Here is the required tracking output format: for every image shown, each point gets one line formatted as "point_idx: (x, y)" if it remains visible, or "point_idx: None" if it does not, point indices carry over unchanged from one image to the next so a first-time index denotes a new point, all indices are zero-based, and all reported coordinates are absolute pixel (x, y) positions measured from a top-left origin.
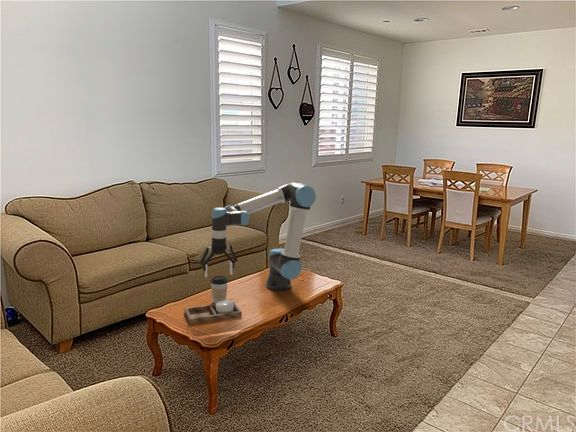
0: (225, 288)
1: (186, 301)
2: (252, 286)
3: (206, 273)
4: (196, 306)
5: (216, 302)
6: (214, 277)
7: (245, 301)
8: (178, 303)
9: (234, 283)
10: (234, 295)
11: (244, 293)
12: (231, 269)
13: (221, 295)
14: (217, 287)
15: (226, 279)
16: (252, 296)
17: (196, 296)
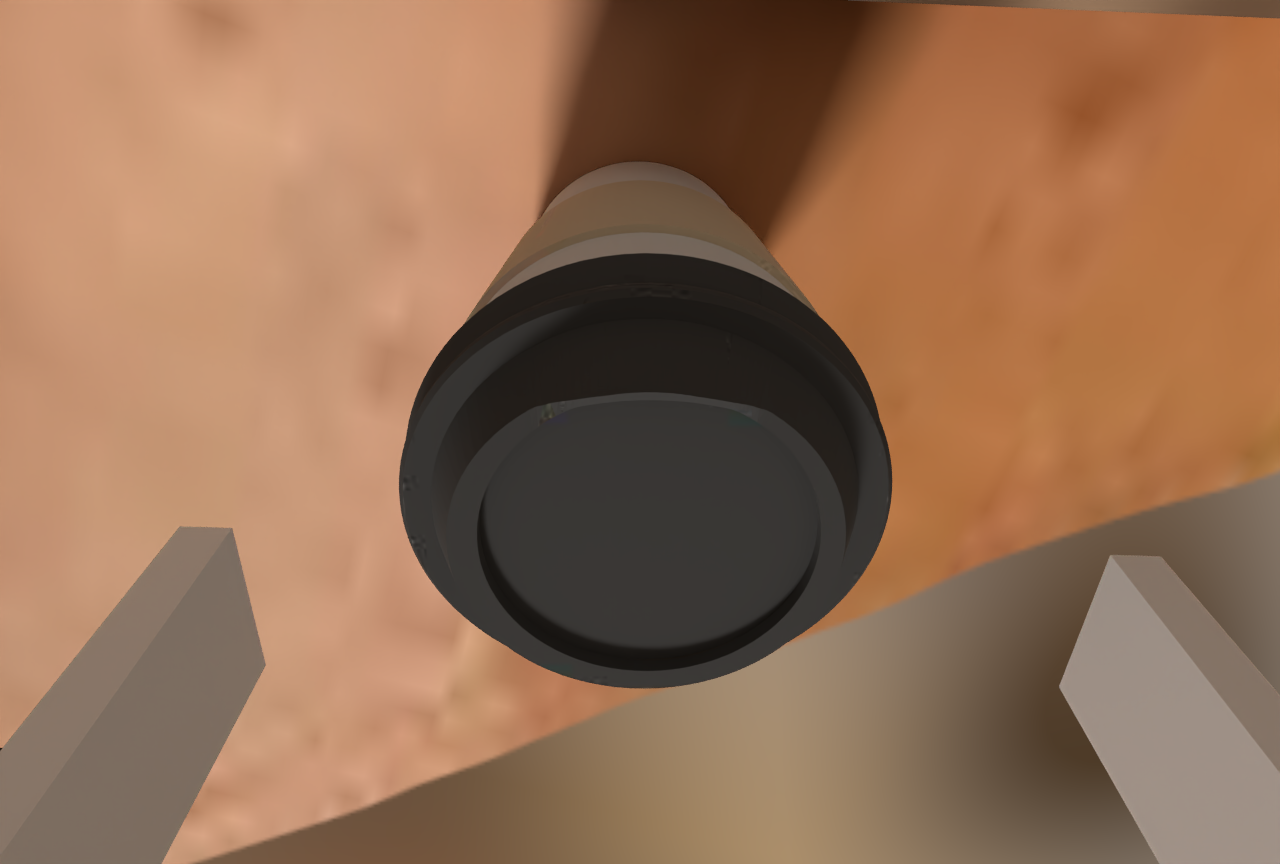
0: (523, 257)
1: (1068, 494)
2: (26, 669)
3: (1230, 662)
4: (1234, 8)
5: (721, 201)
6: (762, 630)
7: (171, 185)
8: (1200, 467)
9: (277, 801)
10: (333, 473)
11: (165, 493)
12: (94, 692)
13: (638, 192)
14: (751, 270)
15: (431, 477)
16: (31, 347)
17: (872, 599)
